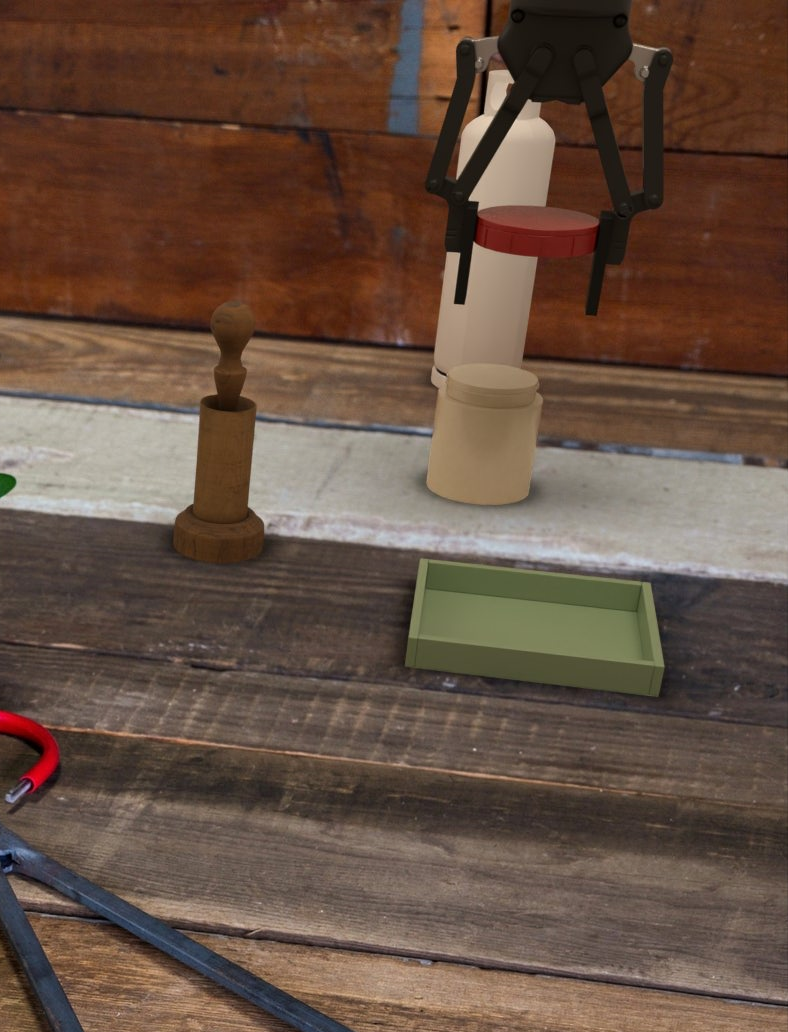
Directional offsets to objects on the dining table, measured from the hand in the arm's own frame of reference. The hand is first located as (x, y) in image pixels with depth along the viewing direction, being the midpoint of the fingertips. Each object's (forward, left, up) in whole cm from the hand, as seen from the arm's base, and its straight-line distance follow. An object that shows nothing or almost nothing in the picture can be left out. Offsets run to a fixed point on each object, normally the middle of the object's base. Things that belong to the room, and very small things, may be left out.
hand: (524, 305), depth 117 cm
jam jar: (+1, -10, -17) cm, 20 cm away
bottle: (+2, -39, -18) cm, 43 cm away
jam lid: (0, 0, +6) cm, 6 cm away
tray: (-3, +18, -17) cm, 25 cm away
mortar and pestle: (+19, +8, -18) cm, 27 cm away
